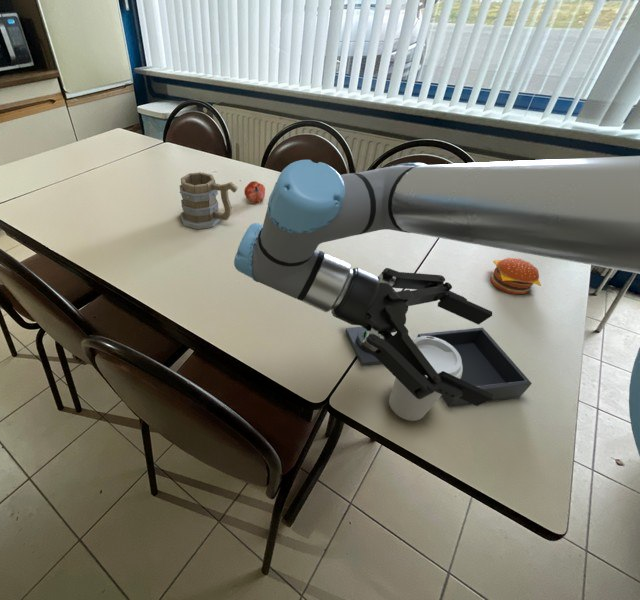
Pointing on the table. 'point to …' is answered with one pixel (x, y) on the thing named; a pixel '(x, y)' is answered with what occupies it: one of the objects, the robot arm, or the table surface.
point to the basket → (484, 364)
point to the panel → (356, 338)
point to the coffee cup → (441, 360)
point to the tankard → (203, 200)
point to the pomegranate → (254, 192)
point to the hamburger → (514, 275)
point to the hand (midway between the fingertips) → (485, 356)
